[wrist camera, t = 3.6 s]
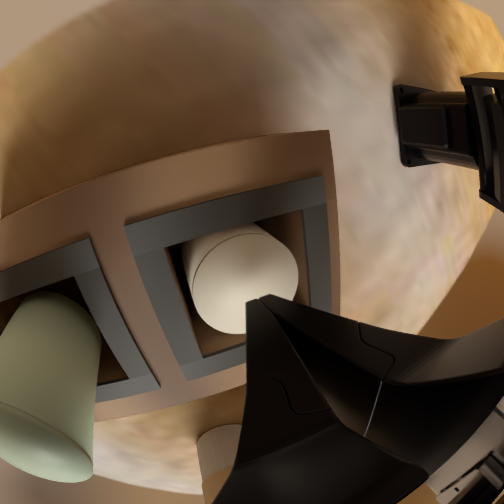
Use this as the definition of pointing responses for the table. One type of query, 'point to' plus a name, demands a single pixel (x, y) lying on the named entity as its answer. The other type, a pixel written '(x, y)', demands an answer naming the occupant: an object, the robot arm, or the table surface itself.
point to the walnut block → (162, 261)
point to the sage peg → (49, 388)
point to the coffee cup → (217, 457)
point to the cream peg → (236, 273)
